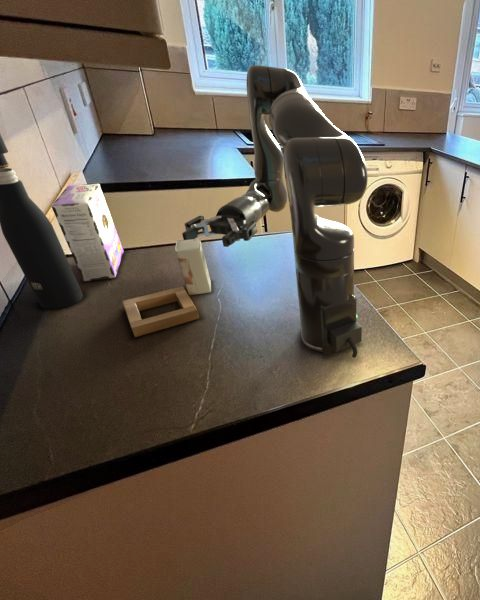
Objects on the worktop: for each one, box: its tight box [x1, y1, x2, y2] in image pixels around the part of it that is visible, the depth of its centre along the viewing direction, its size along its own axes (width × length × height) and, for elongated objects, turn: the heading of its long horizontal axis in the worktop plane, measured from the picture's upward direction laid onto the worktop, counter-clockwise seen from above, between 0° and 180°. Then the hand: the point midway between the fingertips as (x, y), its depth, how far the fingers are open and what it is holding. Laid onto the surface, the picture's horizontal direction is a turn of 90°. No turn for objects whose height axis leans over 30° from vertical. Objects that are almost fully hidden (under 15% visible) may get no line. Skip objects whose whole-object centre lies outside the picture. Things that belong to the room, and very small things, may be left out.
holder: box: [122, 285, 200, 338], centre depth 70 cm, size 10×10×2 cm
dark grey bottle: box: [0, 133, 84, 310], centre depth 64 cm, size 6×6×30 cm
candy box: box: [50, 183, 125, 282], centre depth 80 cm, size 14×6×16 cm, turn 25°
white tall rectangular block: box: [175, 238, 212, 296], centre depth 76 cm, size 5×4×10 cm
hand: (204, 240), depth 79 cm, fingers open, 8 cm apart
